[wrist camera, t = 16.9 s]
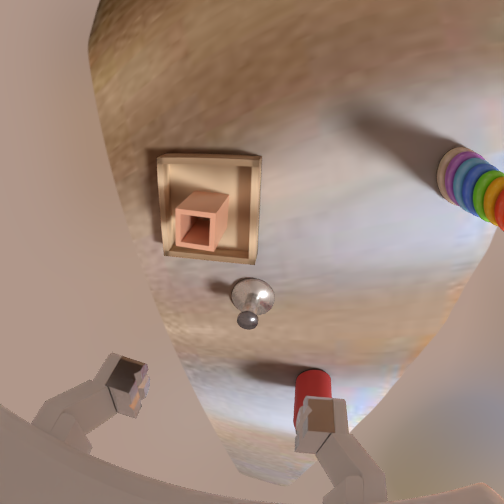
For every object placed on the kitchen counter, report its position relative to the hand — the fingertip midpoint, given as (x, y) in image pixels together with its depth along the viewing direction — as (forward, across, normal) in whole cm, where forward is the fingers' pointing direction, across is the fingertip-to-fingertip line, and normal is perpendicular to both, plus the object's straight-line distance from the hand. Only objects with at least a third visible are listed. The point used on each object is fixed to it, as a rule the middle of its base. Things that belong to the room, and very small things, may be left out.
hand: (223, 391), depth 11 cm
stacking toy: (+30, +24, +7) cm, 40 cm away
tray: (+31, -7, -4) cm, 32 cm away
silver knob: (+31, 0, -17) cm, 36 cm away
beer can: (+31, +14, -34) cm, 48 cm away
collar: (+30, -7, -4) cm, 31 cm away
